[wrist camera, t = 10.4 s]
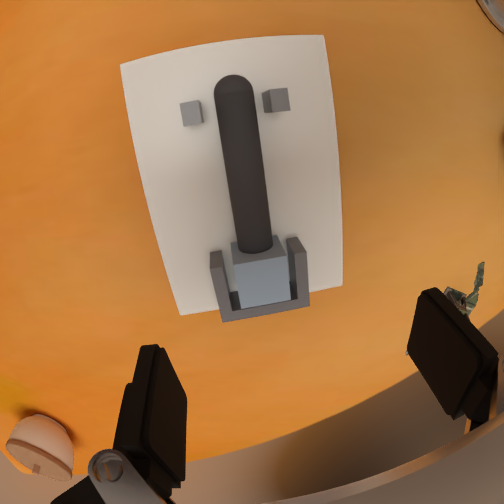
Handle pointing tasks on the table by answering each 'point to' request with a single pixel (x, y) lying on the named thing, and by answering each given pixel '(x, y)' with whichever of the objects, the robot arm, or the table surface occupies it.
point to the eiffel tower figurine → (460, 298)
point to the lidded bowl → (42, 447)
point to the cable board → (214, 174)
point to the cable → (249, 198)
